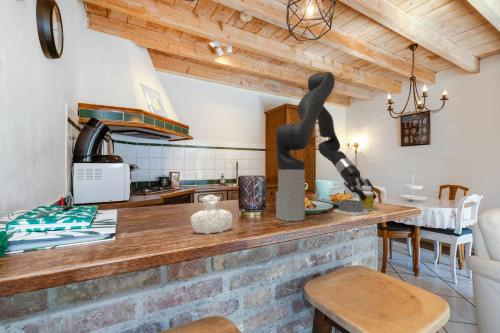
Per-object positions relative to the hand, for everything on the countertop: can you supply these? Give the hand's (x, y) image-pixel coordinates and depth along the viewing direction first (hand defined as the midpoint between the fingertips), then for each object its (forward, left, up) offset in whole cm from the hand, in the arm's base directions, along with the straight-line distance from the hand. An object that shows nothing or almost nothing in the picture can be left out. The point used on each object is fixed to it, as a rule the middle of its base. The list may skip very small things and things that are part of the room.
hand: (370, 198), depth 100 cm
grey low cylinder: (-12, +2, -5) cm, 13 cm away
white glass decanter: (-69, +10, -5) cm, 70 cm away
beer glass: (0, +2, -5) cm, 5 cm away
